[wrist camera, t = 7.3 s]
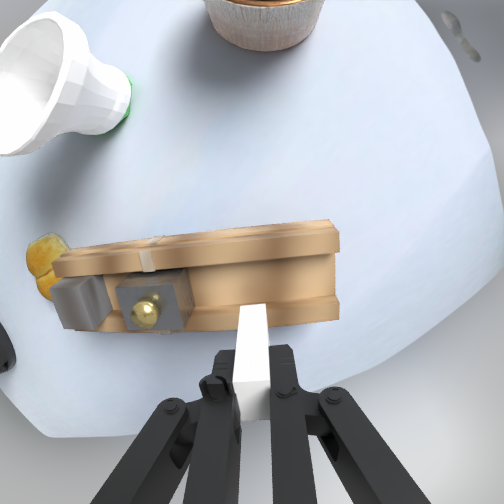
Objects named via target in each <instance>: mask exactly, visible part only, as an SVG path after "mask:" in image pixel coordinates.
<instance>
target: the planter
mask: <svg viewBox="0 0 504 504" xmlns="http://www.w3.org/2000/svg"><path fill="white" fill-rule="evenodd" d="M324 1H325V0H204V3H205V6H206V8H207V11H208V14H209V17H210V19H211V22H212V24H213V26H214V28H215V29H216V30H217V32H218V33H219V34H220V35H221V36H222V37H223V38H224V39H226V40H227V41H228V42H230V43H232V44H234V45H236V46H238V47H241V48H244V49H248V50H253V51H277V50H282V49H286V48H289V47H292V46H294V45H296V44H298V43H300V42H301V41H302V40H304V39H305V38H306V37H307V36H308V35H309V34H310V33H311V32H312V30H313V29H314V27H315V25H316V23H317V20H318V17H319V15H320V12H321V9H322V6H323V4H324Z"/></svg>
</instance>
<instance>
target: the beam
mask: <svg viewBox="0 0 504 504" xmlns="http://www.w3.org/2000/svg"><path fill="white" fill-rule="evenodd" d="M337 252H340V245H339V231H338V230H337V229H336V228H335V227H334V224H333V223H332V222H331V221H330V220H329V219H326V220H314V221H303V222H292V223H282V224H272V225H262V226H252V227H242V228H233V229H224V230H215V231H206V232H197V233H189V234H180V235H172V236H165V235H163V236H155V237H153V238H148V239H140V240H133V241H125V242H118V243H111V244H104V245H96V246H89V247H83V248H76V249H70V250H68V251H66V252H65V253H63V254H61V255H60V258H58V259H56V260H55V261H53V262H51V264H52V267H53V271H54V274H55V277H56V278H62V277H64V278H63V279H61V280H60V281H58V282H57V283H56V284H54V285H53V286H52V287H50V288H49V291H50V294H51V297H52V300H53V303H54V305H55V308H56V310H57V313H58V316H59V318H60V321H61V323H62V325H63V328H64V329H75V331H93V332H128V333H161V334H172V332H203V331H224V330H238V324H239V314H240V306H245V305H256V304H265V305H266V314H267V323H268V327H278V326H288V325H298V324H307V323H316V322H324V321H332V320H339V301H338V299H337V297H336V295H335V253H337ZM181 267H187V268H188V273H189V278H190V283H191V288H192V292H193V297H194V301H195V307H194V309H193V311H192V313H191V316H190V318H189V320H188V322H187V325H186V327H185V329H184V330H128V328H127V326H126V323H125V320H124V317H123V314H122V311H121V308H120V305H119V302H118V299H117V295H116V292H115V289H114V288H115V287H116V286H117V285H118V284H119V283H120V282H121V281H122V280H123V279H125V278H126V277H127V276H128V275H129V274H130V273H131V272H135V271H143V272H152V271H155V270H158V269H170V268H181Z"/></svg>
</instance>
